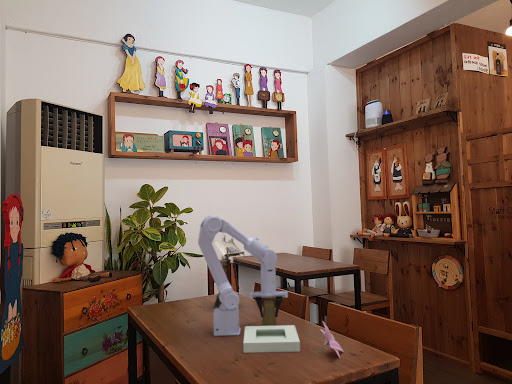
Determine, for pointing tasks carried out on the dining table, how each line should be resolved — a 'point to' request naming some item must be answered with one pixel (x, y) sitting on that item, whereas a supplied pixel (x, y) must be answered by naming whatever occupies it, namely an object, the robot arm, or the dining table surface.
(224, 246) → the bird statue
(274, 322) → the cork
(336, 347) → the lily
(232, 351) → the dining table surface
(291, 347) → the slot box
